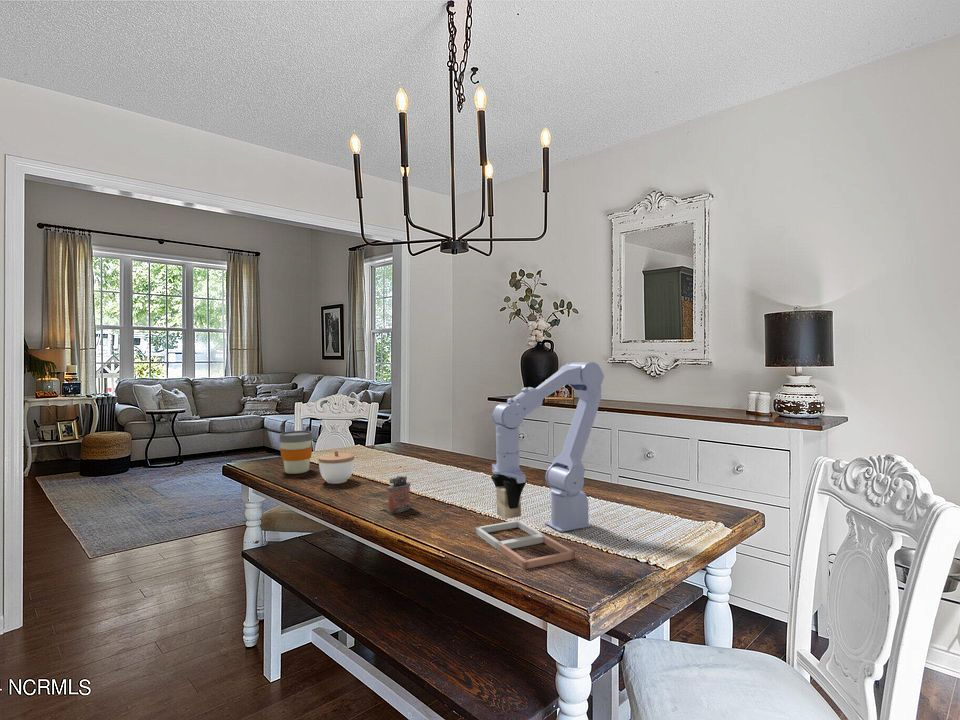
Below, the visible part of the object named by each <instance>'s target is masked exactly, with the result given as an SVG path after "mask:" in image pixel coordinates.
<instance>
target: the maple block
mask: <svg viewBox="0 0 960 720" xmlns="http://www.w3.org/2000/svg"><path fill="white" fill-rule="evenodd" d="M495 489H496V490H495V491H496V495H495V496H496V515H498V516H499V517H501V518H503V519H504V520H507V519H512V518H513V519H515V518H519V517H522V501H521V500H522V499H521V497H522V495H521V496H520V500H519V504H518V508H514V509H510V508H509V505H508V497H507V492H506V489H505V486H499V487H496V486H495Z"/></svg>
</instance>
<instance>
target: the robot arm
mask: <svg viewBox="0 0 960 720" xmlns="http://www.w3.org/2000/svg"><path fill="white" fill-rule="evenodd" d="M604 378H605V374H604V373H603V370H602V369H601V367H600V365H599V364H598V363H596V362H594V361H589V362H587V361H586V362H583V361H580V362H579V361H569V362H567V363H566V364H564V365H562V366H560V367H559V369H558V370H557V371H556V372H555V373H553V374H552V375H551V376H549V377H548V378H546V380H544V381H543V382H541V383H540V384H539V385H538V386H537V387H535V388H534V387H531V386H528V387H522V388H521V392H520V393H518V394H516V395H515V396H513V397H509V398H508V399H507V400H506V403H499V404H498V405H496V406H495V407H494V409H493V412H492V414H491V415H490V418H491V421H492V422H493V423H494V426H495V443H496V444H495V446H496V447H495V448H496V449H495V452H496V463H492V464H491V469H492V470H491V472H492V474H491V476H490V477H491V480H492V482H493V484H494V486H495V488H496V487H499V486H505V489H506V492H507V497H508V505H509V508H510V509H514V508H518V504H519V500H520V496H521V497H522V492H523V491H524V488H525V486H526V485H527V480H526V479H527V478H526V474H525V473H524V472H523V471H522V469H521V468H520V435H519V434H520V432H519V431H520V430H519V429H520V428H519V427H520V426H521V425H522V423H523V420H524V418H526V417H527V416H529V415H530V414H531V413H533V412H535V411H536V410H537V409H538V408H540V407H542V406H543V401H544V399H545V398H547V397H549V396H550V395H551V394H553V393H555V392H556V391H558V390H560V389H561V388H564V386H567V385H569V387H570V388H571V389H572V390H573V391H574V392H575V394H576V395H577V397H578V402H577V405H576V408H575V411H574V415H573V417H572V420H571V423H570V426H569V429H568V432H567V434H566V438H565V440H564V444H563V448H562V449H561V450H562V451H561V453H560V454H559V455H557V456H555V458H553V460H552V462H551V465H550V466H549V467H548V469H547V470H546V472H545V478H544V479H545V482H546V484H547V485H548V486H549V491H550V515H551V516H550V520H547V521H544V524H545V525H547V526H549V528H553V529H554V530H556V531H558V532H561V533H562V532H567V531H573V530H579V529H584V528H590V527H591V524H590V523H589V500H588V496H587V494H586V493H585V492H584V491H583V488H584V486H585V485H584V484H585V478H584V477H585V472H586V468H585V465H584V464H583V461H582V458H583V454H584V453H585V450H586V446H587V442H588V441H589V438H590V434H591V431H592V428H593V425H594V422H595V419H596V415H597V413H598V409H599V406H600V403H601V401H602V384H603V381H604Z"/></svg>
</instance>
